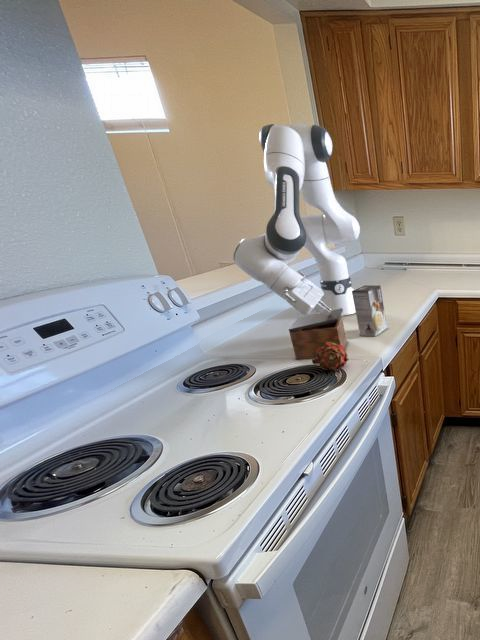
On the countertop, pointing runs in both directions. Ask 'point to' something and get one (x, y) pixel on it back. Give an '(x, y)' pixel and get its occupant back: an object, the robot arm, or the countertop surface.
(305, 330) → the chest
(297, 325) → the lid
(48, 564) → the countertop surface
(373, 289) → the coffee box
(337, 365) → the dragon fruit
